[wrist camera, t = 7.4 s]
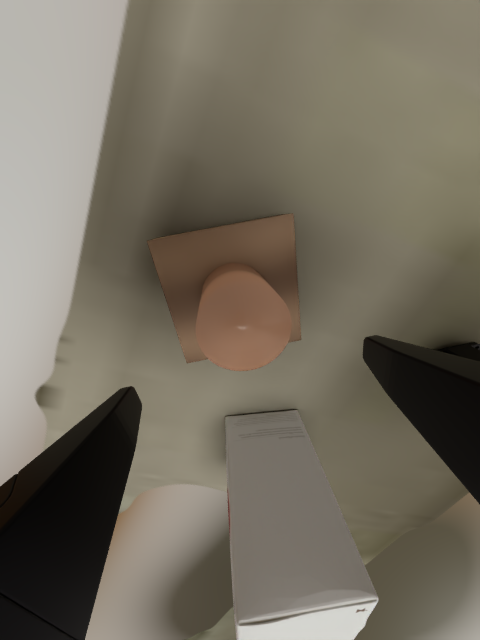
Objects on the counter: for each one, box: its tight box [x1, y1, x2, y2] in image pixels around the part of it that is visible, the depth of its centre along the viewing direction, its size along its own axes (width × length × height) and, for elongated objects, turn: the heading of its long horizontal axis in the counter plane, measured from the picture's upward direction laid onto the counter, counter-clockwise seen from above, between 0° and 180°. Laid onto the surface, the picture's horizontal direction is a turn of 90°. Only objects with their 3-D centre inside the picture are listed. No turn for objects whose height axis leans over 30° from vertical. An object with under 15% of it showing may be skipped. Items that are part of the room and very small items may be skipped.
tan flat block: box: [147, 213, 301, 363], centre depth 18 cm, size 10×10×3 cm
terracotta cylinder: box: [196, 263, 292, 371], centre depth 14 cm, size 5×5×6 cm
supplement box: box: [225, 410, 378, 640], centre depth 21 cm, size 9×9×15 cm
